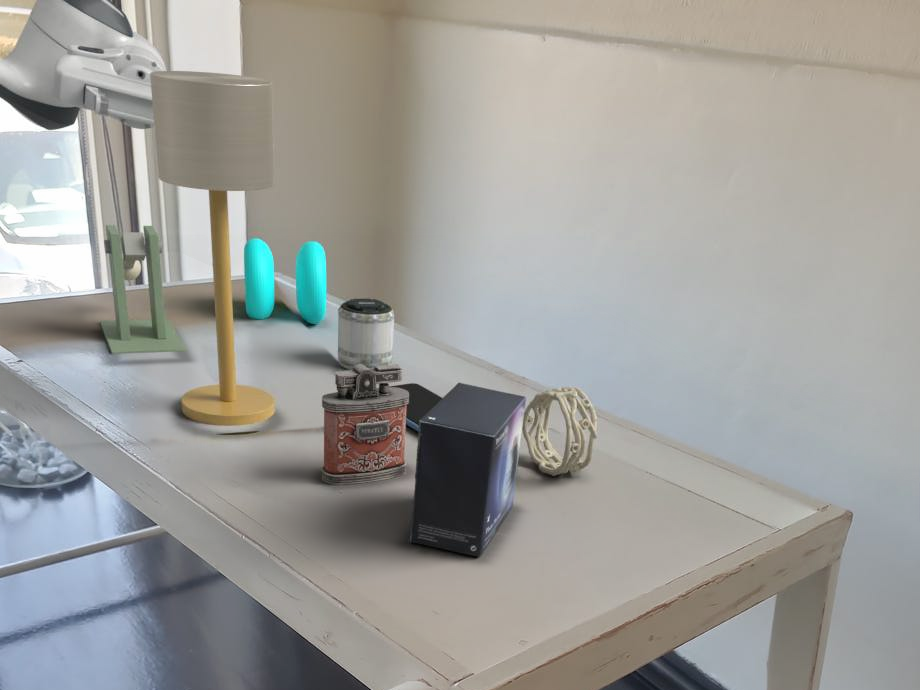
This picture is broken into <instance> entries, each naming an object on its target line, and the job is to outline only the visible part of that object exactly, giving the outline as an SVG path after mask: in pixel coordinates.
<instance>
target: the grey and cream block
mask: <svg viewBox="0 0 920 690" xmlns="http://www.w3.org/2000/svg"><path fill="white" fill-rule="evenodd" d="M120 240H121V250H122V260H123V270H124V279H125V281H133V280H136V279H137V278H138V277H139V276H140V274H141V271H142V265H141V262H143V261H145V260H146V249H145V240H144V231H143V232H137V231H136V232H135V231H134V232H133V231H131V232H130V231H129V232H128V231H127V232H125V231H122V233H121V235H120ZM140 261H141V262H140Z"/></svg>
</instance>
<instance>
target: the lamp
mask: <svg viewBox="0 0 920 690" xmlns="http://www.w3.org/2000/svg"><path fill="white" fill-rule="evenodd" d="M150 79H151V92H152V104H153V117H154V127H153V128H154V129H153V130H154V141H155V154H156V165H157V177H158V180H160V181H161V182H163V183H165V184H170V185H173V186H177V187H182V188H189V189H195V190H205V191H208V204H209V205H208V206H209V222H210V223H209V225H210V240H211V242H210V243H211V258H212V276H213V277H212V278H213V292H214V295H213V296H214V311H215V313H214V315H215V329H216V333H215V334H216V348H217V349H216V350H217V351H216V352H217V366H218V367H217V369H218V382H219V383H218V384H210V385H203V386H199V387H195V388H193V389H190V390H188V391H186V392H185V393H184V394H183V395H182V396H181V398H180V401H181V412H182V413H183V414H184V416H185V417H187V418H189V419H190V420H192V421H195V422H198V423H202V424H207V425H214V426H224V427H227V426H229V427H230V426H231V427H234V426H247V425H253V424H256V423H260V422H265V421H266V420H268V419H269V418H271V417H272V416H273V415H274V414H275V412H276V400H275V397H274V396H273V395H272V394H271V393H269V392H268V391H266V390H264V389H261V388H257V387H254V386H249V385H245V384H244V385H243V384H237V376H236V374H237V373H236V354H235V353H236V352H235V335H234V334H235V331H234V311H233V308H234V307H233V289H232V268H231V267H232V266H231V265H232V264H231V246H230V245H231V244H230V243H231V242H230V224H229V222H230V221H229V201H228V200H229V199H228V192H248V191H260V190H267V189H270V188H272V187H274V186H275V185H276V172H275V169H276V168H275V162H276V161H275V125H274V123H275V122H274V121H275V120H274V119H275V117H274V83H273V81H271V80H268V79H266V78H265V79H264V78H259V77H253V76H246V75H239V74H230V73H218V72H209V71H207V72H205V71H191V70H167V71H155V72H151V73H150ZM258 432H259V430H251V431H239V432H238V431H237V432H224V433H223V432H222V433H221V432H220V433H217V436H220V435H221V436H242V435H249V434H255V433H258Z"/></svg>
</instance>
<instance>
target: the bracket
mask: <svg viewBox="0 0 920 690" xmlns="http://www.w3.org/2000/svg"><path fill="white" fill-rule="evenodd" d="M142 228H143V235H144V242H145V249H146V257H145V260H146V272H147V283H148V295H149V306H150V316H151V317H150V318H151V319H149V318H148V319H130V318H129V309H128V302H127V301H128V300H127V291H126V290H127V289H126V280H125V279H124V270H123V260H122V252H123V251H122V244H121V234H120V231H119V230H118V228H117V226H116V225H115V224H112V225H111V224H109V225H108V224H106V225H105V231H106V239H104V240H103V246H104V253H105V254H108V259H109V260H108V261H109V269H110V278H111V279H110V280H111V287H112V297H113V307H114V315H115V319H114V320H113V319H112V320H110V319H109V320H100V321H99V324H100V327H101V330H102V332H103V335H104V337H105V339H106V343H107V345H108V348H109V350H110V353H111V354H112V355H122V354H147V353H148V354H149V353H152V354H153V353H176V352H178V353H179V352H187V350H186V349H187V348H186V347H185V345H184V344H183V342H182V340H181V338H180V336H179V335H178V333H177V331H176V330H175V327H174V326H173V323H172V322H171V320H170V319H169V318H166V313H165V302H164V301H165V300H164V290H163V289H164V288H163V277H162V264H161V254H163V246H162V243H163V242H162V240H161V239H159V234H158V232H157V230H156V229H155V228H154V226H153V225H143V227H142Z"/></svg>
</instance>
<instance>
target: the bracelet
mask: <svg viewBox="0 0 920 690" xmlns="http://www.w3.org/2000/svg"><path fill="white" fill-rule="evenodd" d="M579 398H580V399H581V400H580V399H579ZM554 400H555V401H557V402H558V405H559V408H560V410H561V413H562V415H563V418H564V421H565V427H566V432H565V433H566V434H565V436H566V439H565V446H564V453H563V457H562V456H561V455H560V454H559V453H557V451H556V450H555V448H554V447H553V446H552V444H551V442H550V440H549V425H550V418H551V410H552V409H551V408H552V405H553V404H552V403H553V401H554ZM531 410H532V411H533V414H534V417H532V415H531V416H530V412H531ZM577 411H578V412H579V414H580V416H581V418H582V419H581V420H579V421H578V420H577V419H576V413H577ZM587 411H588V412H587ZM544 413H545V414H544ZM588 413H589V414H590V415H589V414H588ZM543 415H544V420H543ZM597 425H598V419H597V413H596V410H595V407H594V406H593V403H591V401H590V399H589V398H588V396H587V395H586V393H585V392H584V391H583V390H581V388H579V387H575V386H569V385H566V386H562V387H557V388H552V390H545V391H542V392H539V393H537V394H535V395H534V397H533V399H531V401H529V404H528V405H527V406H526V407H525V410H524V418H523V426H522V434H523V437H524V439H525V442H526V446H527V449H528V454H529V456H530V458H531V460H532V462H533V463H535V464H536V465H538V470H539V471H541V472H543V473H544V474H548V475H550V476H553V477H556V476H559V475H562V474H567V473H568V472H569V470H570V471H571V473H578V472H580V471H581V470H584V469H585V468H586V467H589V465H590V464H591V462H592V459H593V453H594V447H595V443H596V442H595V441H596V439H597V438H598V433H597ZM527 426H529V427H530V426H531V427H530V429H529V431H528V428H527ZM587 429H588V431H589V433H590V434H589V438H588V445H587V436H586V433H585V430H587ZM534 434H535V436H534ZM573 436H574V441H572V440H573V439H572V438H573ZM533 437H534V440H535V443H534V440H533ZM541 443H543V447H544V451H543V449H542V447H541ZM586 447H587V451H586ZM585 451H586V457H585V459H584V461H583V459H582V458H583V456H584V454H585Z"/></svg>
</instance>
